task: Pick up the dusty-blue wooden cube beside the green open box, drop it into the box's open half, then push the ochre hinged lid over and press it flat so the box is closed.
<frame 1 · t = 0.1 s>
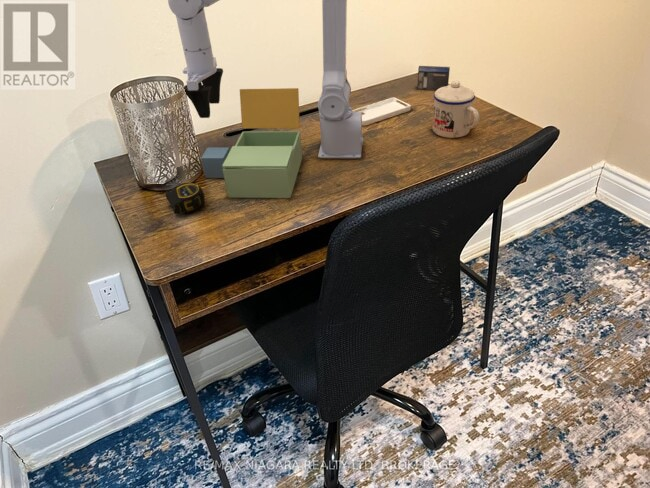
hand: (210, 109, 114), 10 cm above the table, tool pointing down, fingers open, 7 cm apart
mini dv tape: (432, 89, 143), on the table
green open box: (267, 176, 110), on the table
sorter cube: (219, 172, 113), on the table
phone case: (379, 114, 132), on the table
tape measure: (185, 208, 102), on the table
teacup with lid: (455, 133, 121), on the table
food container: (168, 177, 112), on the table
lid: (269, 108, 111), point 11 cm above the table, hinge at 110.0°
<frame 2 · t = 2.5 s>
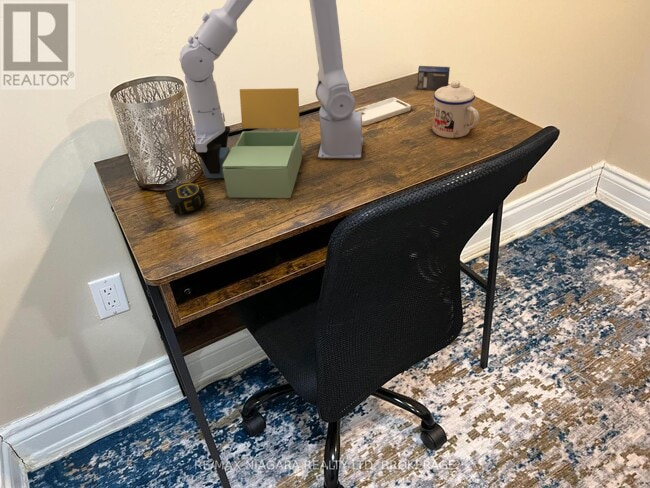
hand: (218, 166, 112), 1 cm above the table, tool pointing down, fingers closed on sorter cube, 5 cm apart
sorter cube: (219, 172, 113), on the table, touching gripper
everything else where it was.
when the fingers open (6 cm above the table, at t = 8.8 s): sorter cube drops 5 cm, resting on green open box.
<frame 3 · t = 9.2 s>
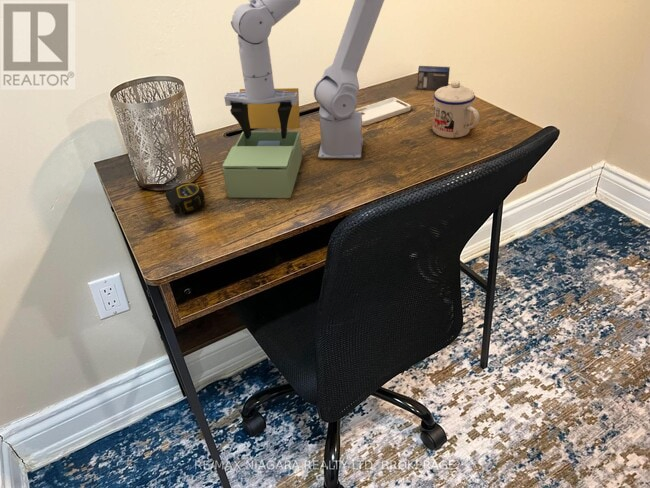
hand: (266, 136, 108), 7 cm above the table, tool pointing down, fingers open, 7 cm apart
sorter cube: (270, 165, 113), resting on green open box
everything else where it was.
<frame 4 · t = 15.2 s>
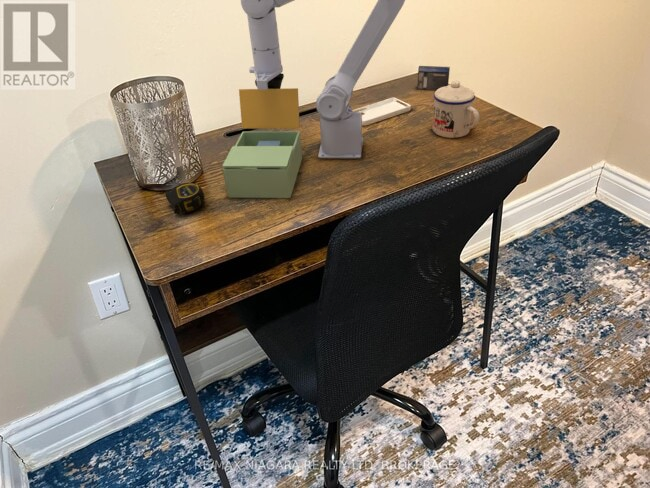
hand: (273, 109, 115), 9 cm above the table, tool pointing down, fingers closed
lid: (269, 108, 111), point 11 cm above the table, hinge at 106.0°
everything else where it was.
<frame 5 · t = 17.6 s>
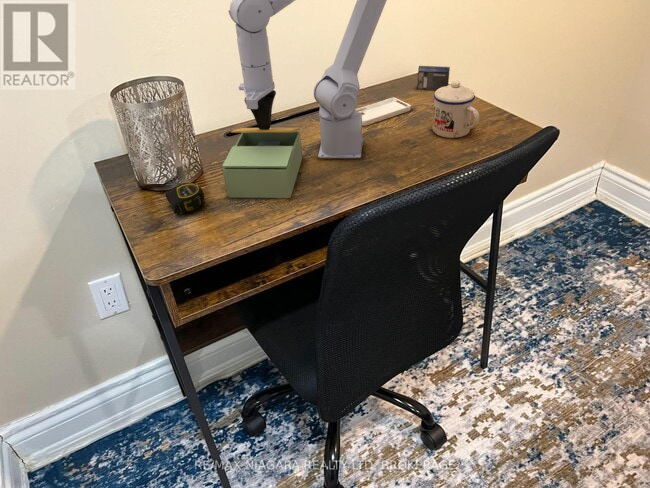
hand: (264, 128, 107), 9 cm above the table, tool pointing down, fingers closed
lid: (266, 130, 108), point 9 cm above the table, hinge at 21.6°
everything else where it was.
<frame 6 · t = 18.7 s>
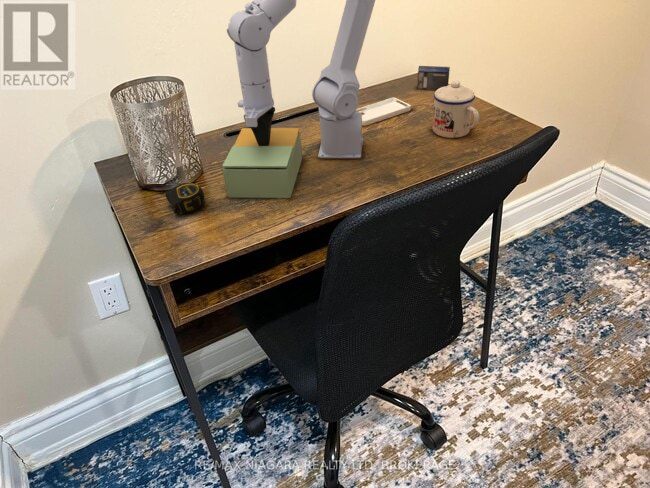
hand: (264, 144, 107), 7 cm above the table, tool pointing down, fingers closed, pressing on lid
lid: (267, 138, 109), point 7 cm above the table, hinge at -2.6°, touching gripper
everything else where it was.
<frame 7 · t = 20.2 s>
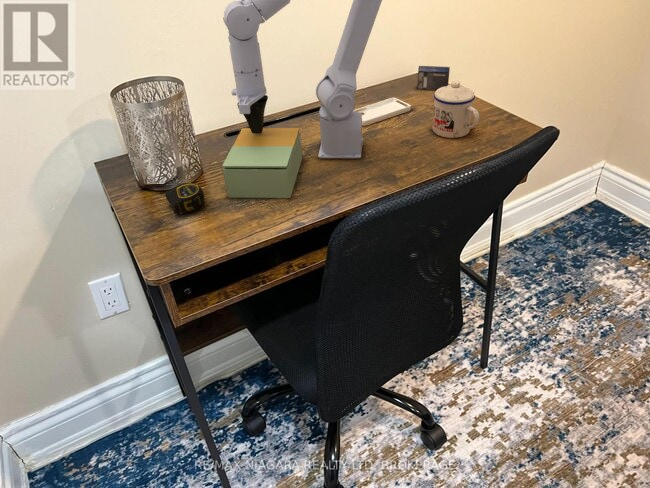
hand: (257, 132, 110), 8 cm above the table, tool pointing down, fingers closed
lid: (267, 137, 109), point 7 cm above the table, hinge at -0.9°
everything else where it was.
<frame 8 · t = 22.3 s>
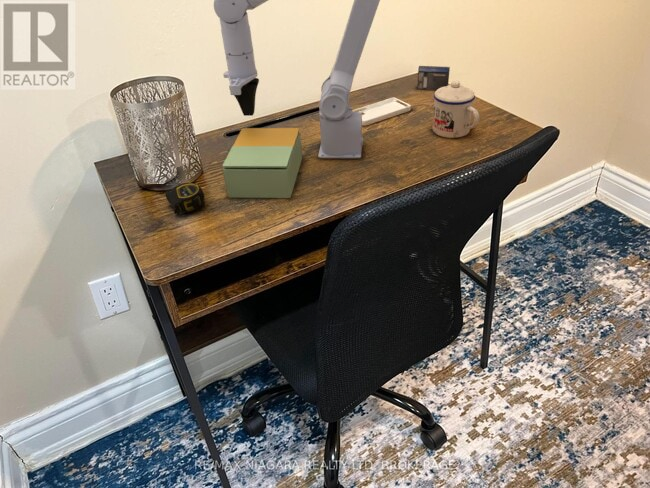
hand: (249, 114, 113), 9 cm above the table, tool pointing down, fingers closed
nothing on the table moved.
at the end: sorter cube inside the target area in the green open box (3.8 cm from its centre), point 0.4 cm above the green open box's base; lid at -1° (first picture: +110°) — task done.
